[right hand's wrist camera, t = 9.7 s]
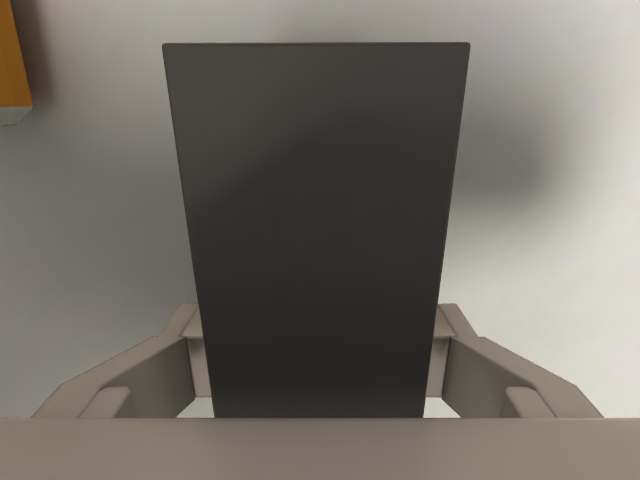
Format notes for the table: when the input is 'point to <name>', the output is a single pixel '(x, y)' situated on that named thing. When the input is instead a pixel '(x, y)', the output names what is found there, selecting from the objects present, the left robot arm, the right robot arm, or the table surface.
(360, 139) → the bar
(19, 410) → the table surface
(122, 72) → the table surface
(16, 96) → the spray gun
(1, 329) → the table surface
